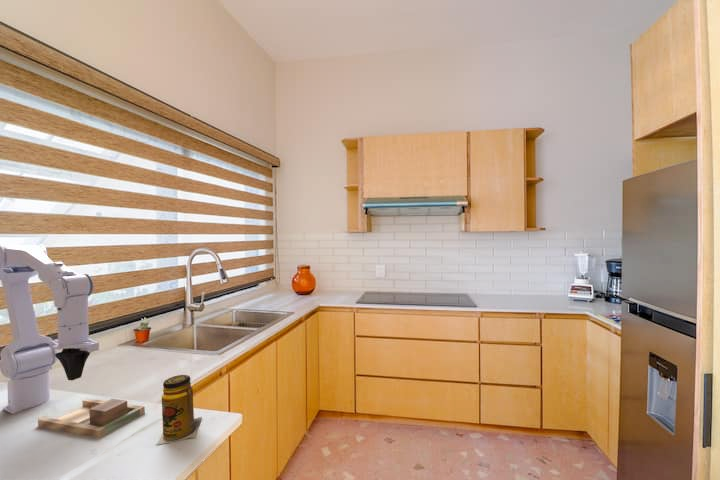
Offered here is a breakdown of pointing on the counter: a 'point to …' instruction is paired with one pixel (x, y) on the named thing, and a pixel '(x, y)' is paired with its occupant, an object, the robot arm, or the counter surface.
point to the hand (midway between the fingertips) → (74, 378)
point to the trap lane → (88, 420)
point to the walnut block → (107, 412)
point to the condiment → (178, 410)
